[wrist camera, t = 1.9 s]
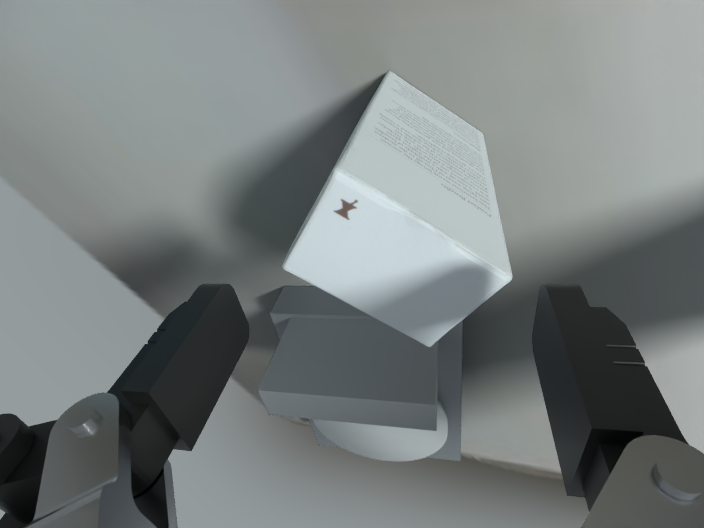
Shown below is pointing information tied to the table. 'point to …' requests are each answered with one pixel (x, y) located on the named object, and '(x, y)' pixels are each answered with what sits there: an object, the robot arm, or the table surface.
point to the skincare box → (407, 218)
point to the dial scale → (363, 380)
